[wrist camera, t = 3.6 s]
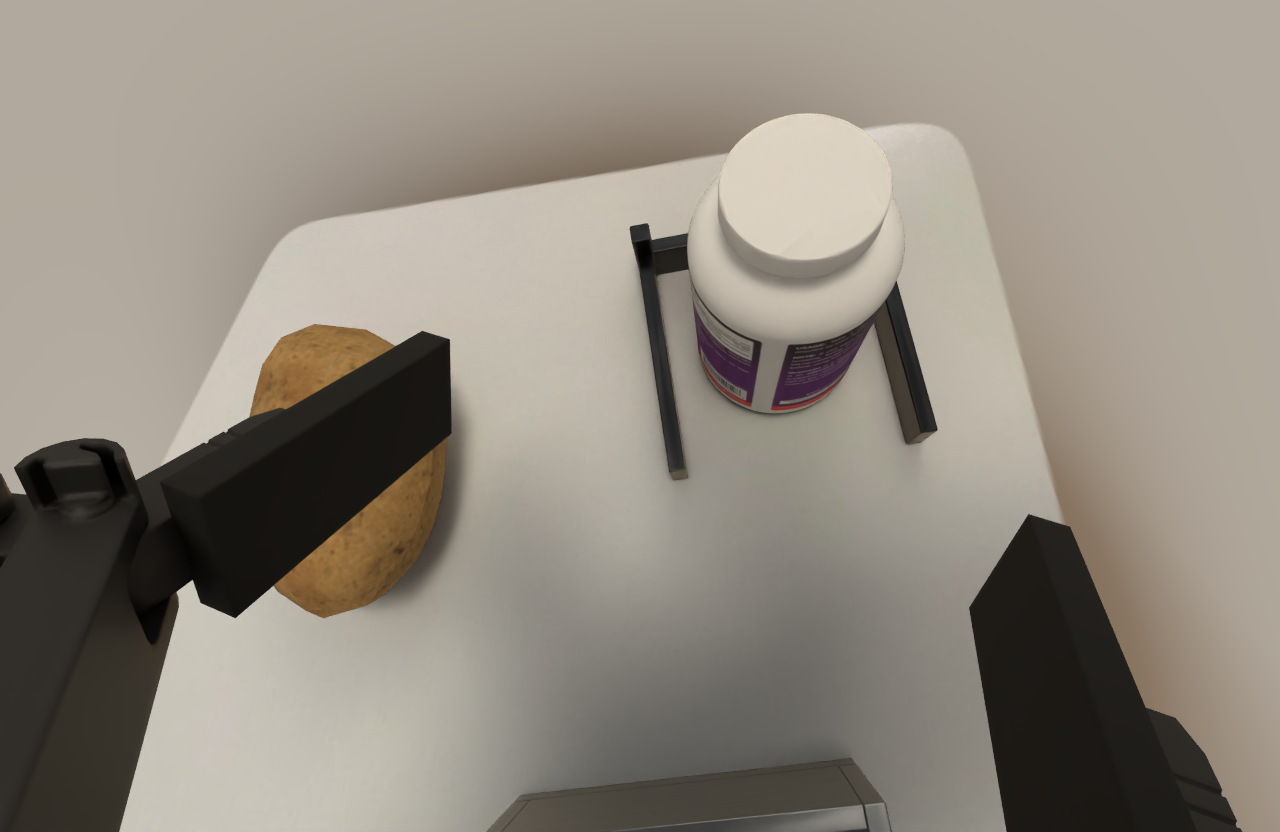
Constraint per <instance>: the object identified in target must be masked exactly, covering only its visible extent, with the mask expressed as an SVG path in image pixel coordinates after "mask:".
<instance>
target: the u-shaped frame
mask: <svg viewBox="0 0 1280 832" xmlns="http://www.w3.org/2000/svg"><path fill="white" fill-rule="evenodd" d="M630 234H631V240H632V245H633V249H634V253H635V256H636V260H637V264H638V268H639V272H640V278H641V284H642V291H643V298H644V305H645V311H646V318H647V325H648V332H649V339H650V345H651V352H652V359H653V366H654V372H655V379H656V386H657V393H658V400H659V406H660V413H661V420H662V427H663V433H664V440H665V447H666V454H667V461H668V467H669V472H670V474H671V477H672V479H673V480H679V479H685V478H688V475H687V468H686V462H685V455H684V449H683V442H682V436H681V430H680V423H679V417H678V410H677V404H676V398H675V391H674V385H673V378H672V372H671V365H670V359H669V353H668V346H667V340H666V333H665V327H664V321H663V314H662V308H661V301H660V295H659V288H658V282H657V276H658V274H662V273H667V272H673V271H678V270H684V269H689V266H688V255H687V242H688V233H687V234H682V235H676V236H671V237H666V238H660V239H655V240H652V239H651V234H650V229H649V225H648V223H646V224H641V225H635V226H631V227H630ZM874 321H875V325H876V329H877V333H878V336H879V340H880V344H881V348H882V352H883V356H884V359H885V363H886V367H887V371H888V375H889V379H890V382H891V386H892V390H893V394H894V398H895V402H896V405H897V409H898V413H899V417H900V421H901V425H902V428H903V432H904V436H905V440H906V443H907V444H913V443H919V442H922V441H923V440H925V439H926V438H928V437H929V436H930V435H932V434H933V433H935V432H936V431H937V425H936V422H935V418H934V414H933V411H932V407H931V404H930V400H929V396H928V393H927V389H926V386H925V382H924V378H923V375H922V371H921V367H920V364H919V360H918V357H917V353H916V349H915V346H914V342H913V339H912V335H911V331H910V328H909V324H908V321H907V317H906V313H905V310H904V306H903V303H902V299H901V295H900V292H899V288H898V285H897V281H896V282H895V284H894V287H893V289H892V291H891V292H890V294H889V296H888V297H887V299H886V301H885V303H884V304H883V306H882V308H881V310H880V311H879V313H878V315H877V317H876V319H875V320H874Z"/></svg>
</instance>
